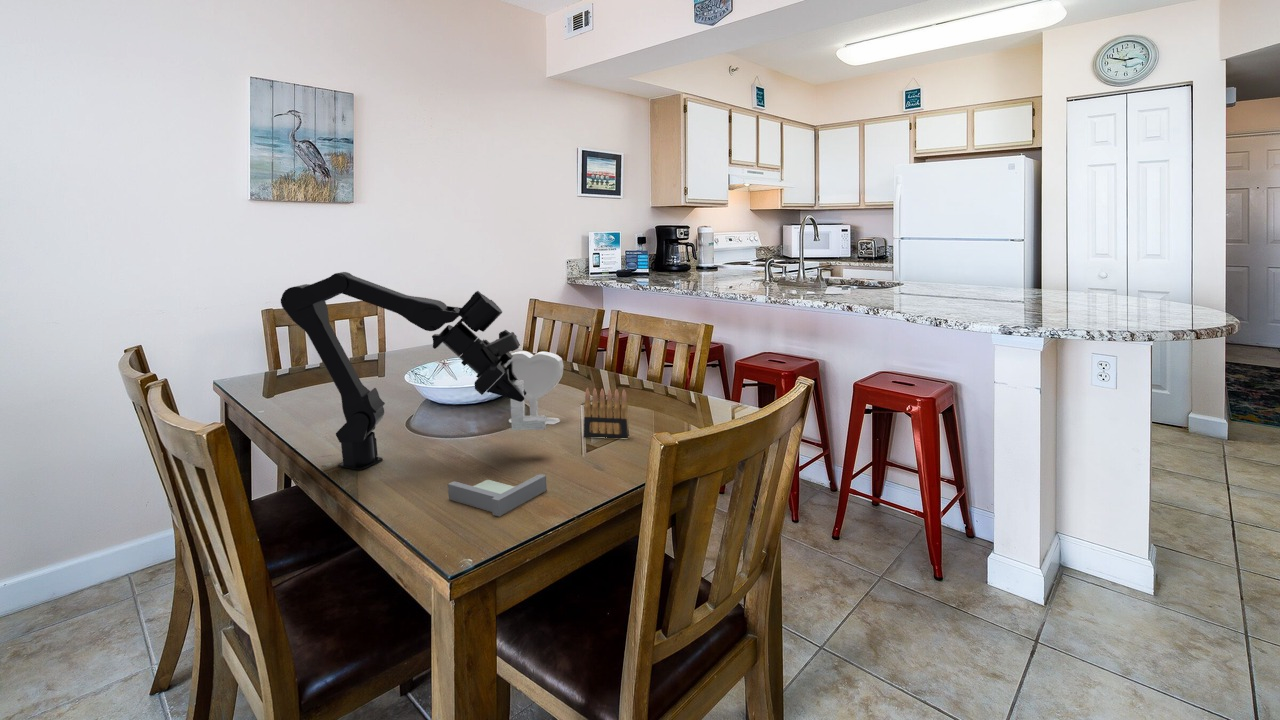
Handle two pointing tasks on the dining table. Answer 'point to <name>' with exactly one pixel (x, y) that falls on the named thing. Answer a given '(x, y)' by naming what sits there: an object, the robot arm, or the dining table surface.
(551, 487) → the dining table surface
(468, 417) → the dining table surface
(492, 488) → the mat
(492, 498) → the corner bracket
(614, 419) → the ammunition clip
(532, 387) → the heart sculpture
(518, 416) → the white l-shaped block
